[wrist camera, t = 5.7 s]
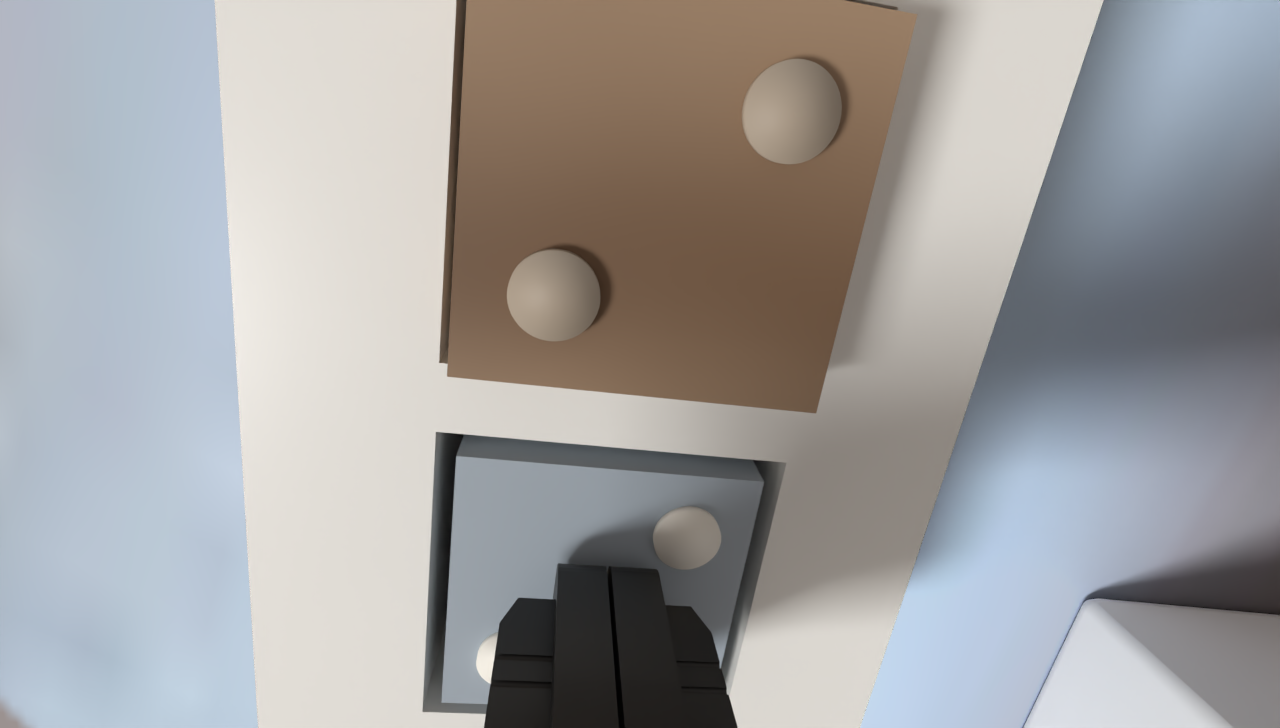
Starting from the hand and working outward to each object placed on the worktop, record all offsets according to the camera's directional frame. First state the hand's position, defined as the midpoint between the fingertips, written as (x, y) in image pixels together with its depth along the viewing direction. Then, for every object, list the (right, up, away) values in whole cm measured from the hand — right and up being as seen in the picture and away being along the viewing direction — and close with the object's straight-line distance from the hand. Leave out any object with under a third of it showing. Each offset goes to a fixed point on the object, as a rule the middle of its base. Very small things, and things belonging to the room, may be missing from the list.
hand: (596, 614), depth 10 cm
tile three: (0, +1, +2) cm, 3 cm away
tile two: (+1, +6, -1) cm, 6 cm away
